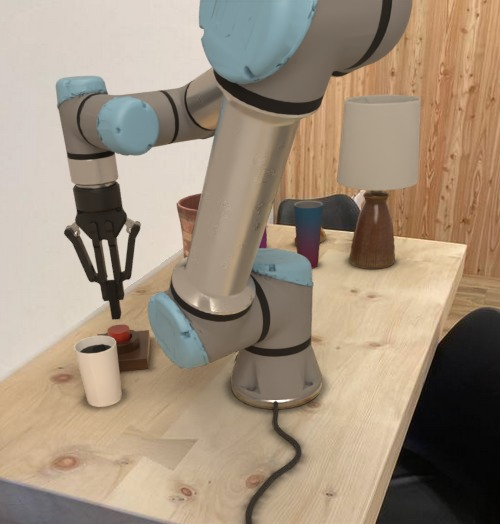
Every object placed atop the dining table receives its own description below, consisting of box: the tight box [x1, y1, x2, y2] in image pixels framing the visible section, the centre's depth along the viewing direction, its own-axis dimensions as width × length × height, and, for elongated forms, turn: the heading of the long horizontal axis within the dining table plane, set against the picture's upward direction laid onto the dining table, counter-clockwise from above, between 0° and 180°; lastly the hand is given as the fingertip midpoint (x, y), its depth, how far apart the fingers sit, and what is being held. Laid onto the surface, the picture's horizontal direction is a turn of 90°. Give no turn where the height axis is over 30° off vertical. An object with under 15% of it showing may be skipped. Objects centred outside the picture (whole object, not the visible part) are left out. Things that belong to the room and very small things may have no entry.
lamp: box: [336, 94, 422, 270], centre depth 149 cm, size 19×19×37 cm
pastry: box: [294, 226, 327, 245], centre depth 172 cm, size 9×7×4 cm
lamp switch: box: [107, 323, 131, 343], centre depth 117 cm, size 4×4×2 cm
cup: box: [293, 199, 324, 269], centre depth 154 cm, size 7×7×15 cm
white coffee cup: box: [73, 335, 123, 408], centre depth 104 cm, size 7×7×10 cm
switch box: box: [96, 329, 151, 372], centre depth 118 cm, size 12×10×4 cm
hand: (116, 316), depth 115 cm, fingers closed
